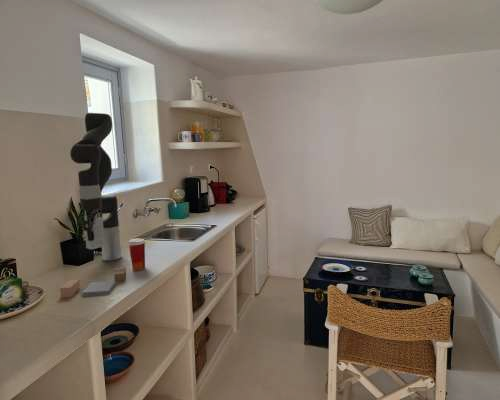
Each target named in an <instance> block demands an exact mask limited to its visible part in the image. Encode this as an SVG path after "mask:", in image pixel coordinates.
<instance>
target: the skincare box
mask: <svg viewBox="0 0 500 400" xmlns="http://www.w3.org/2000/svg"><path fill="white" fill-rule="evenodd" d="M103 220H104V218H103V216H102V217H97V218H96V224H95V226H94V230H93V231H94V240H93V241H88V236H87V231H84V230H83V231H84V240H85V247H86V249H88V250H95V249H98V248H99V249H100V248H102V247H103V246H105V237H104V228H103ZM91 223H92V222H91ZM88 227H89V225H88Z"/></svg>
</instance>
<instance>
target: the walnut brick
mask: <svg viewBox="0 0 500 400" xmlns="http://www.w3.org/2000/svg"><path fill="white" fill-rule="evenodd" d="M113 276H114V281H116V284H117V283H124V282H126V277H127V272H126V267H125V266H124V267H115V270H114V275H113Z"/></svg>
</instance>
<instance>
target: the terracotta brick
mask: <svg viewBox="0 0 500 400" xmlns="http://www.w3.org/2000/svg"><path fill="white" fill-rule="evenodd" d="M80 289H81V286H80V279H70V280H68V281H66V282H65V283H64V284H63V285H61V286H60V287H59V294H60V298H72V297H73V296H74V295H75V294H76V293H77V292H78V291H79V290H80Z"/></svg>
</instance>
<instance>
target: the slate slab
mask: <svg viewBox="0 0 500 400" xmlns="http://www.w3.org/2000/svg"><path fill="white" fill-rule="evenodd" d="M116 285H117V283H116V281H115V280H112V281H111V280H110V281H93V282H90V283H89V284H88V285H87V286H86V288H85V289H83V291H82V292H81V294H82V295H81V296H82V297H89V296H103V295H110V294H111V292H112V291H113V289H114V288H115V287H116Z"/></svg>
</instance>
